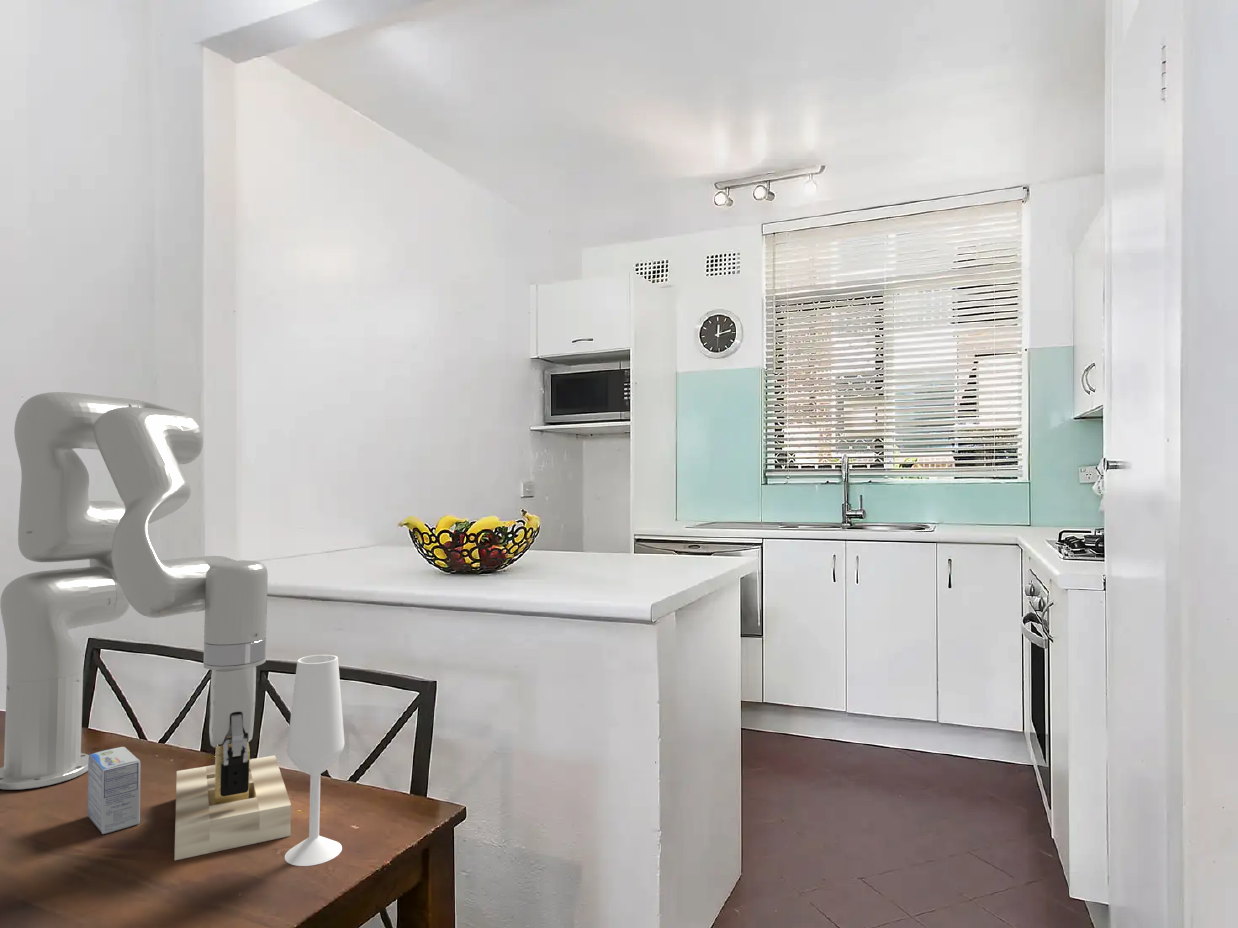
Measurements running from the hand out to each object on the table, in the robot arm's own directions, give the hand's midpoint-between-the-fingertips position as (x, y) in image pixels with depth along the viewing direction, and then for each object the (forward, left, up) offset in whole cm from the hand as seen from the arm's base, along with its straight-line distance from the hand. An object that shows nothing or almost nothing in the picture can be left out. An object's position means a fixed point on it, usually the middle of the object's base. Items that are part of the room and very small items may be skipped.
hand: (232, 780), depth 100 cm
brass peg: (0, 0, -6) cm, 6 cm away
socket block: (-3, 0, -6) cm, 6 cm away
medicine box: (-9, -14, -6) cm, 17 cm away
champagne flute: (+13, +8, -6) cm, 17 cm away
